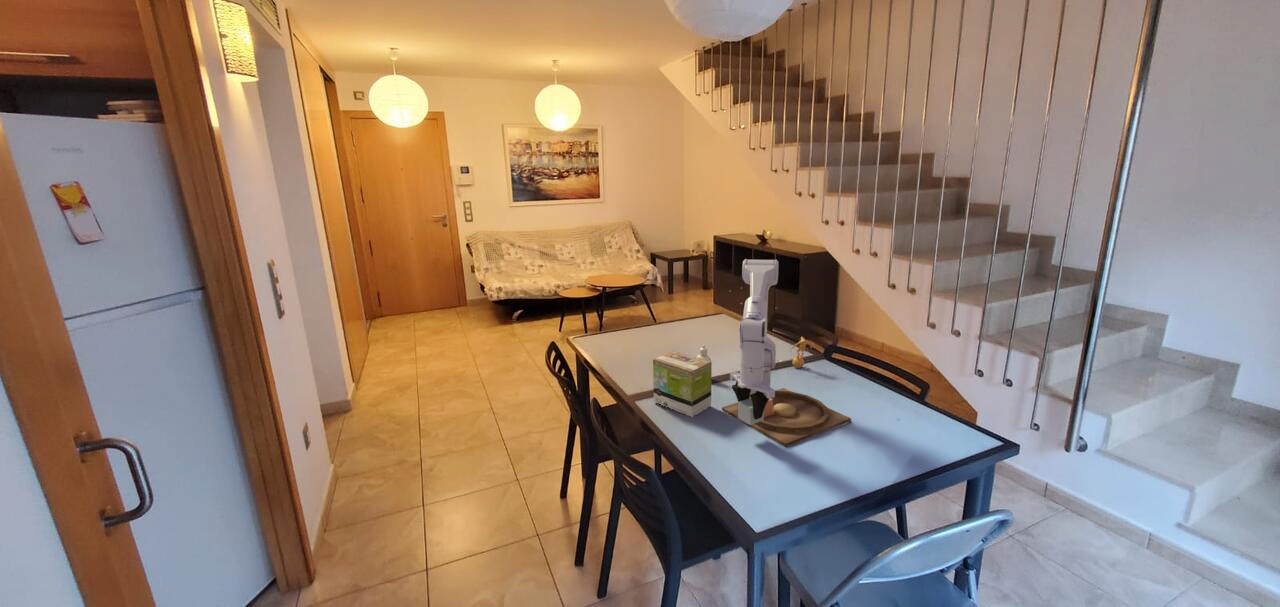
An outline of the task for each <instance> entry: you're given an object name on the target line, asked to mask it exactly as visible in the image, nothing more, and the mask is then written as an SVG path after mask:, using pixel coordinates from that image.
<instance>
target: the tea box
mask: <svg viewBox="0 0 1280 607" xmlns="http://www.w3.org/2000/svg"><path fill="white" fill-rule="evenodd" d="M696 357H697V356H696ZM696 357H695V356H692V355H688V354H685V353H682V352H679V351H676V350H672V351H670V352H667V353H665V354H663V355H660V356H658V357H656V358H653V359H652V371H653V372H652V378H653V380H652V381H653V383H652V384H653V403H654V402H656V403H659V404H661V405H660V406H662V405H664V406H666V407H665V408H667V407H669V408H671V409H670V410H672V409H674V410H676V411H675V412H677V411H679V412H681V413H680V414H682V413H684V414H686V415H685V416H687V415H689V416H691V417H690V418H693V417H695V416H697V415H698V414H697V413H699V412H700V413H702V412H703V410H704V409H705V410H707V409H708V407H709V408H710V407H711V406H712V375H713V374H712V372H713V370H712V367H713V366H712V361H711V362H710V361H707V360H703V359H700V358H696ZM656 403H655V404H656ZM659 404H658V405H659ZM664 406H663V407H664ZM669 408H668V409H669ZM706 408H707V409H706ZM674 410H673V411H674ZM705 410H704V411H705ZM701 411H702V412H701ZM679 412H678V413H679ZM700 413H699V414H700ZM684 414H683V415H684ZM696 414H697V415H696ZM694 415H695V416H694ZM689 416H688V417H689ZM692 416H693V417H692Z"/></svg>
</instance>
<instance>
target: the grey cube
mask: <svg viewBox="0 0 1280 607" xmlns="http://www.w3.org/2000/svg"><path fill="white" fill-rule="evenodd" d="M737 403H738V418H739V419H740V420H742V421H744V422H746V423H747V424H749V425H752V424H755V423H758V422H760V421H763V420H764V411H763V414H762V418H759V419H754V416H753V404H752V400H751V398H749V399H746V400H743V401H740V402H738V401H737Z"/></svg>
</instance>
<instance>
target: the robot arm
mask: <svg viewBox="0 0 1280 607" xmlns="http://www.w3.org/2000/svg"><path fill="white" fill-rule="evenodd" d="M741 269H742V270H741V277H742V278H741V279H742V280H743V282H744V283H745V284H747V285H749V297H748V298H746V300H745V302H744V307H743V314H742V320H740V321H739V324H738V338H739V349H740V370H739V372H737V371H734V372H733V371H732V372H730V373H729V380H730V381H731V382H733V381H734V382H735V384H733V385H732V386H731V389H732V391H733V392H734V394H735V397H736V399H737V400H736V401H737V403H738V402H740V401H743V400H746V399H749V397H751V400H752V404H753V416H754V419H759V418H762V414H763V411H764V408H765V406H766V404H767V402H768V400H769V399H770V398H773V397H775V391H776V389H774V388H772V387H771V373H772V369H774V368H775V367H776V359H777V358H776V356H777V349H776V344H775V343H776V342H775V341H773V340H772V339H771V338H769V336H768V311H769V310H768V306H769V305H768V304H769V291H770V288H771V287H772V286H775V285H777V284H778V280H779V261H778V260H777V259H747V258H745V259H744V260H743V261H742V266H741Z"/></svg>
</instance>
